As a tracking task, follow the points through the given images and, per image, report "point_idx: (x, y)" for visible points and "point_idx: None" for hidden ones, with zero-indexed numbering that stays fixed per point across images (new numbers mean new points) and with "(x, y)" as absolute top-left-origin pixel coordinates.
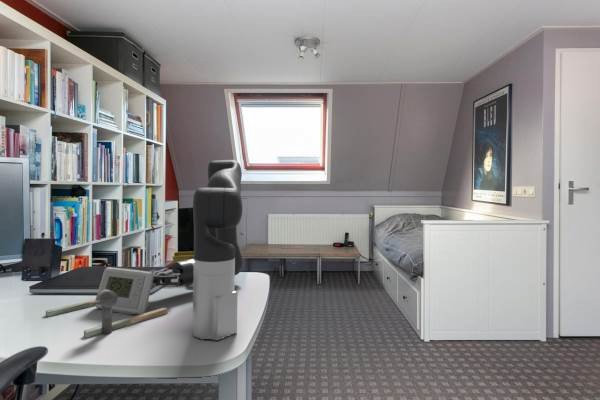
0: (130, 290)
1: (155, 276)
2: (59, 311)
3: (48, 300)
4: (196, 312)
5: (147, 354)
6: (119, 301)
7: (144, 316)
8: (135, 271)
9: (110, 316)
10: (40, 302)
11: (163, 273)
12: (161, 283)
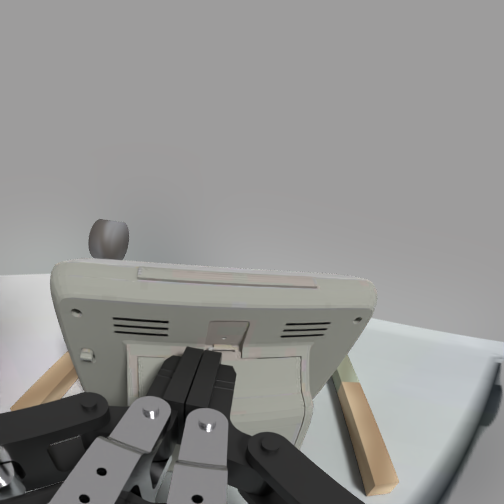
0: (157, 334)
1: (124, 420)
2: None
3: (449, 365)
4: None
5: (4, 284)
6: None
7: (61, 360)
8: (161, 263)
9: None
10: (438, 355)
11: (79, 466)
12: (71, 446)
